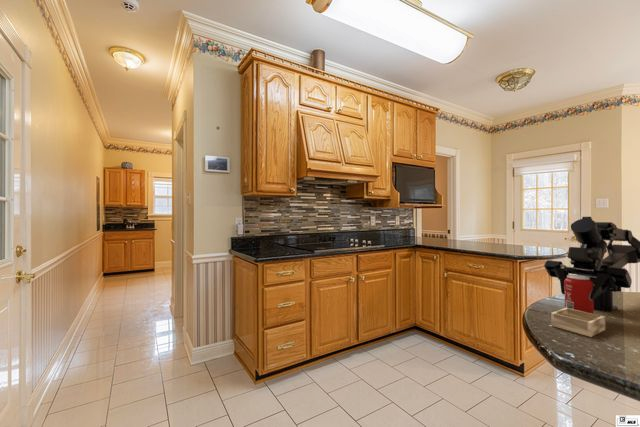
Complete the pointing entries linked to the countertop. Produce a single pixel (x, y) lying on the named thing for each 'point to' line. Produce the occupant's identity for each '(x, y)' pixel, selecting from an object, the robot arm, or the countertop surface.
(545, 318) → the countertop surface
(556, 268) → the robot arm
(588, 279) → the beverage can
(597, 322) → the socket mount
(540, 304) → the countertop surface
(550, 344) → the countertop surface
